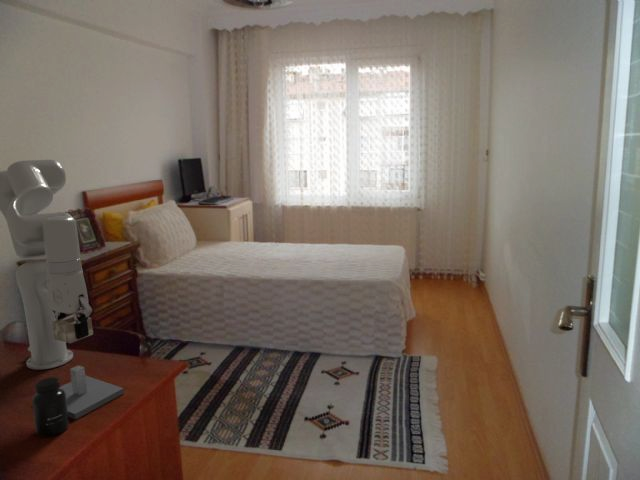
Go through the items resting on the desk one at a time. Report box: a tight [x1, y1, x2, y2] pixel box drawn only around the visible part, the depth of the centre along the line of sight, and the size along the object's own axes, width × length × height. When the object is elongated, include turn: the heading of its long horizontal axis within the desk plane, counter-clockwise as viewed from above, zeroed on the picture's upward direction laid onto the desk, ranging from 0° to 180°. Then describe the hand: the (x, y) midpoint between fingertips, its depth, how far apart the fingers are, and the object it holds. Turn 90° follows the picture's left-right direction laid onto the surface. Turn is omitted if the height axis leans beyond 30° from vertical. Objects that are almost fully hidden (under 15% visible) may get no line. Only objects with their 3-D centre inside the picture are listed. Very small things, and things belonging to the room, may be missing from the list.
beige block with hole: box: [52, 314, 94, 344], centre depth 124 cm, size 6×6×5 cm
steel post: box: [69, 365, 87, 396], centre depth 127 cm, size 2×2×7 cm
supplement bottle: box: [31, 377, 70, 438], centre depth 113 cm, size 7×7×12 cm
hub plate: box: [60, 374, 125, 420], centre depth 127 cm, size 16×14×2 cm
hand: (73, 334), depth 124 cm, fingers closed on beige block with hole, 6 cm apart
